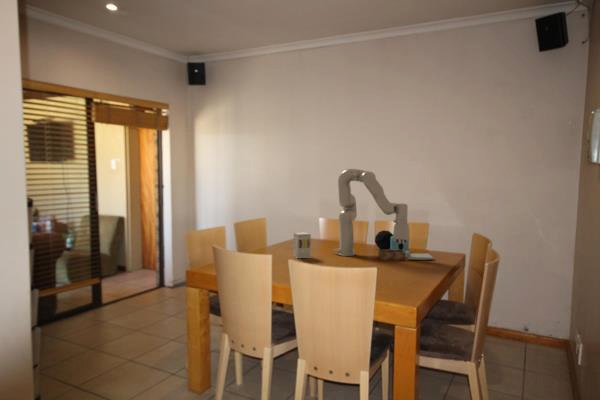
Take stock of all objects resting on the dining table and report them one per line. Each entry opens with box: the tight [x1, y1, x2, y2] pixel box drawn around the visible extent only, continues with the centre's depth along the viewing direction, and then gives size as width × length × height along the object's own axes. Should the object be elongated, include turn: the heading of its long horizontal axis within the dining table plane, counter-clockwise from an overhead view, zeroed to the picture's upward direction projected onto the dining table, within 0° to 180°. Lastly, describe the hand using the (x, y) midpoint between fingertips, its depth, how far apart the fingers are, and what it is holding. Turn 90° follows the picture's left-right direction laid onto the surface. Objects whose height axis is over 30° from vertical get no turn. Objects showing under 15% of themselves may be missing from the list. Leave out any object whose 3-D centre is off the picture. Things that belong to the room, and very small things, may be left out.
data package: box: [389, 236, 410, 253], centre depth 298 cm, size 12×4×12 cm, turn 93°
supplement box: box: [293, 231, 312, 260], centre depth 285 cm, size 10×9×17 cm
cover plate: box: [405, 251, 434, 261], centre depth 280 cm, size 16×13×5 cm
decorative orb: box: [374, 229, 393, 250], centre depth 312 cm, size 14×15×15 cm
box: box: [377, 249, 407, 261], centre depth 280 cm, size 16×11×5 cm
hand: (400, 249), depth 280 cm, fingers closed
